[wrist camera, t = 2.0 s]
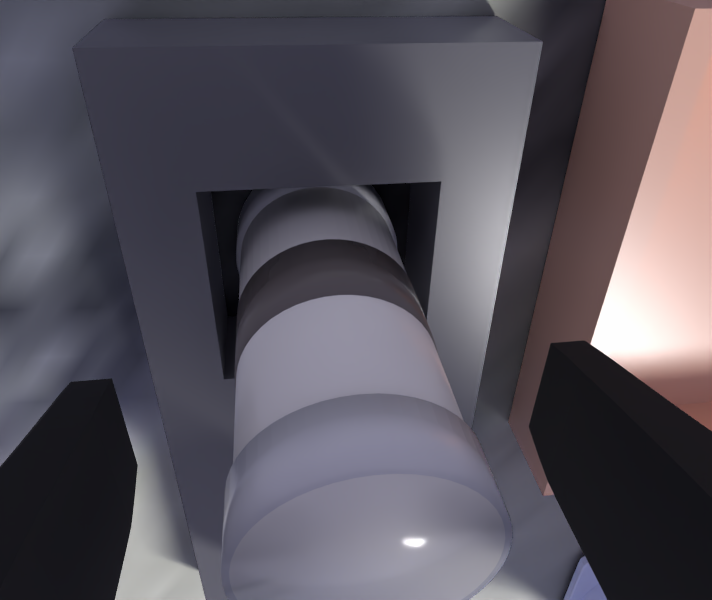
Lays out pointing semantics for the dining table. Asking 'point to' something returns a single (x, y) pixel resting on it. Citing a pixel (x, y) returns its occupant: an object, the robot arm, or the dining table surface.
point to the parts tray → (635, 215)
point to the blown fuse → (346, 419)
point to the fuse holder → (299, 184)
